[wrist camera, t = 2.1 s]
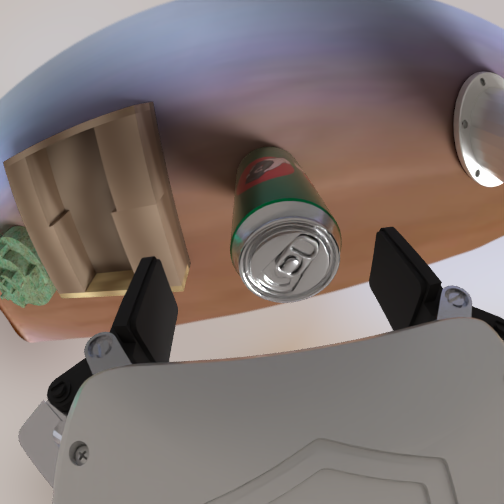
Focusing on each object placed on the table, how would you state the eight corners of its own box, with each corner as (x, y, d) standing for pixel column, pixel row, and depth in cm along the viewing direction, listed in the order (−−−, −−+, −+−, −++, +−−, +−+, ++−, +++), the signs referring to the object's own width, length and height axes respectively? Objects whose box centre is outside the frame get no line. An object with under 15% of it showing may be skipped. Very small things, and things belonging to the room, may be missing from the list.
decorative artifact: (30, 213, 22) (-5, 240, 24) (-8, 248, 16) (-35, 271, 18) (74, 283, 27) (34, 297, 29) (49, 326, 22) (11, 333, 23)
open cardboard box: (153, 101, 18) (133, 105, 14) (190, 263, 26) (183, 291, 22) (29, 149, 18) (3, 162, 15) (76, 274, 26) (61, 298, 23)
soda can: (225, 187, 22) (208, 284, 12) (256, 133, 19) (270, 185, 9) (278, 214, 23) (303, 321, 13) (311, 165, 21) (371, 245, 11)
